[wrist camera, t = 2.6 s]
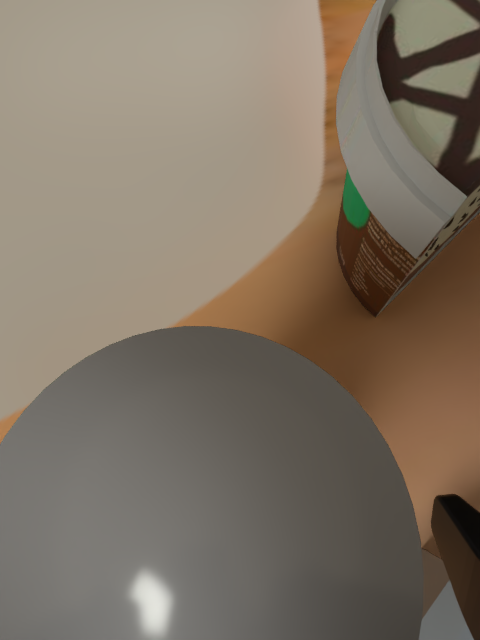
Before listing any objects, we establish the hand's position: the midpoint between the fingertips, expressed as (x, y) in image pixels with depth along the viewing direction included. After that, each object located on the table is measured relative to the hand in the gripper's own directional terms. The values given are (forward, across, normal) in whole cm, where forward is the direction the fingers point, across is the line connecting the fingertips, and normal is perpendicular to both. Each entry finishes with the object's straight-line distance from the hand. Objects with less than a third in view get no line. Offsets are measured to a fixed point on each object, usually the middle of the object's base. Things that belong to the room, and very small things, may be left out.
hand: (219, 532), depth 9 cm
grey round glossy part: (+6, 0, +6) cm, 8 cm away
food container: (+14, -8, -2) cm, 17 cm away
